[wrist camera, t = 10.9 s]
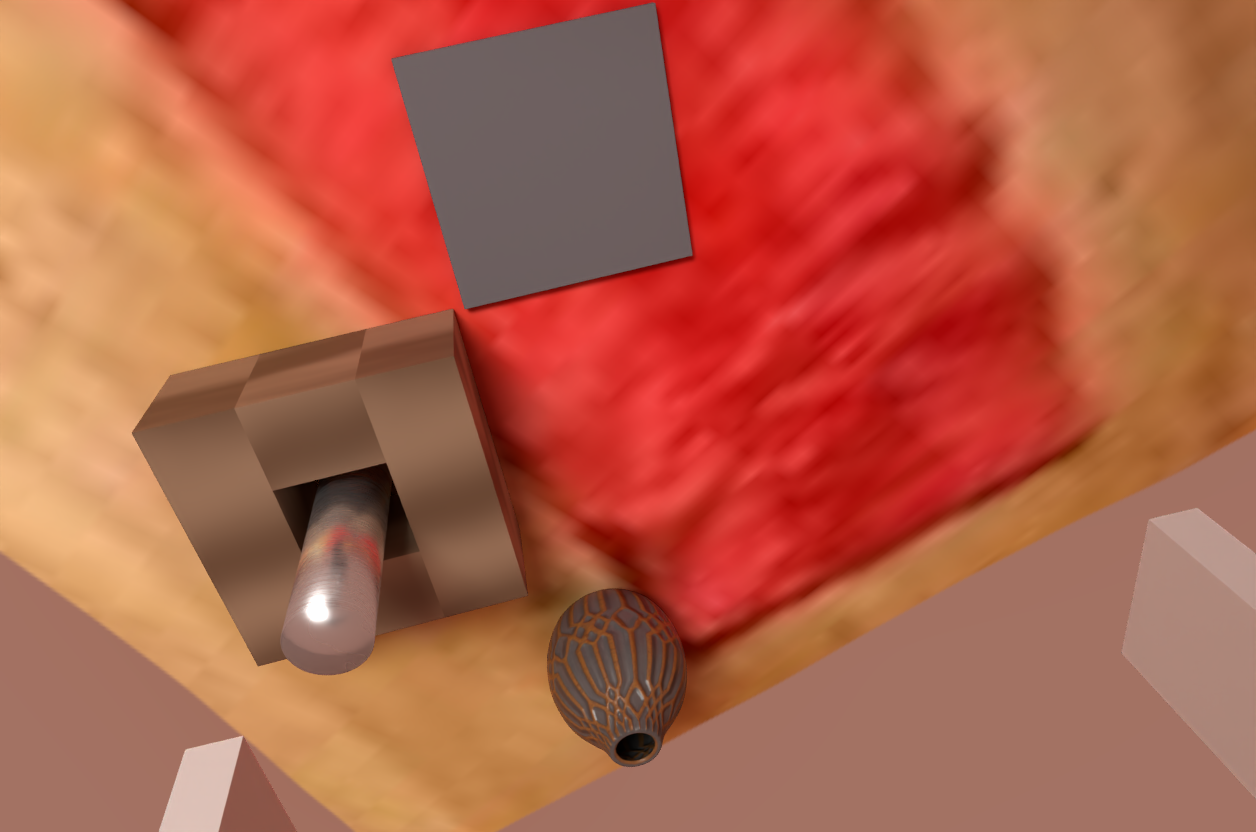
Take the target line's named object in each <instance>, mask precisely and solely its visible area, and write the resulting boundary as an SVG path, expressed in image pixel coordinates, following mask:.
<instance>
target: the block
mask: <svg viewBox="0 0 1256 832" xmlns="http://www.w3.org/2000/svg"><path fill="white" fill-rule="evenodd" d="M132 434H133V436H134V438H135V440H136V442H137V444H138V446H139V447H140V449H141V451H142V453H143V455H144V457H145V458H146V460H147V462H148V464H149V466H150V468H151V470H152V471H153V473H154V475H155V477H156V479H157V481H158V482H159V484H160V486H161V488H162V490H163V492H164V493H165V495H166V497H167V499H168V501H169V503H170V505H171V506H172V508H173V510H174V512H175V514H176V516H177V517H178V519H179V521H180V523H181V525H182V527H183V529H184V530H185V532H186V534H187V536H188V538H189V540H190V541H191V543H192V545H193V547H194V549H195V551H196V553H197V554H198V556H199V558H200V560H201V562H202V564H203V565H204V567H205V569H206V571H207V573H208V575H209V577H210V578H211V580H212V582H213V584H214V586H215V588H216V589H217V591H218V593H219V595H220V597H221V599H222V601H223V602H224V604H225V606H226V608H227V610H228V612H229V613H230V615H231V617H232V619H233V621H234V623H235V625H236V626H237V628H238V630H239V632H240V634H241V636H242V637H243V639H244V641H245V643H246V645H247V647H248V649H249V650H250V652H251V654H252V656H253V658H254V660H255V661H256V663H257V665H258V666H261V665H265V664H269V663H273V662H277V661H281V660H284V659H287V658H286V657H285V655H284V653H283V651H282V649H281V644H280V639H281V633H282V629H283V625H284V621H285V617H286V613H287V609H288V605H289V601H290V597H291V593H292V589H293V585H294V581H295V577H296V572H297V568H298V564H299V560H300V556H301V552H302V548H303V544H304V540H305V536H306V532H307V528H308V524H309V520H310V516H311V512H312V508H313V504H314V500H315V496H316V492H317V488H318V487H317V485H316V483H315V480H318V479H322V478H326V477H330V476H334V475H338V474H342V473H346V472H351V471H355V470H359V469H363V468H367V467H371V466H375V465H379V464H383V463H387V466H388V468H389V471H390V474H391V476H392V479H393V482H394V484H395V487H396V489H397V492H398V494H396V495H392V496H390V504H389V513H388V522H387V531H386V540H385V550H384V559H383V568H382V577H381V586H380V596H379V605H378V614H377V623H376V632H375V636H376V635H380V634H384V633H387V632H391V631H395V630H399V629H403V628H407V627H410V626H414V625H418V624H422V623H426V622H429V621H433V620H437V619H441V618H445V617H449V616H452V615H456V614H460V613H464V612H468V611H471V610H475V609H479V608H483V607H487V606H491V605H494V604H498V603H502V602H506V601H510V600H513V599H517V598H521V597H525V596H528V592H527V584H526V576H525V567H524V559H523V551H522V543H521V535H520V529H519V526H518V522H517V519H516V516H515V512H514V509H513V506H512V502H511V499H510V496H509V492H508V489H507V486H506V482H505V479H504V476H503V473H502V469H501V466H500V463H499V459H498V456H497V453H496V449H495V446H494V443H493V439H492V436H491V433H490V429H489V426H488V423H487V419H486V416H485V413H484V409H483V406H482V403H481V399H480V396H479V393H478V389H477V386H476V383H475V380H474V376H473V373H472V370H471V366H470V363H469V360H468V356H467V353H466V350H465V346H464V343H463V340H462V336H461V333H460V330H459V326H458V323H457V320H456V316H455V313H454V310H453V309H450V310H446V311H441V312H437V313H433V314H429V315H424V316H420V317H416V318H412V319H407V320H403V321H399V322H395V323H391V324H386V325H382V326H378V327H374V328H369V329H365V330H361V331H357V332H352V333H348V334H344V335H340V336H336V337H331V338H327V339H323V340H319V341H314V342H310V343H306V344H302V345H297V346H293V347H289V348H285V349H280V350H276V351H272V352H268V353H264V354H259V355H255V356H251V357H247V358H242V359H238V360H234V361H230V362H225V363H221V364H217V365H213V366H208V367H204V368H200V369H196V370H192V371H187V372H183V373H179V374H175V375H170V376H169V378H168V379H167V381H166V382H165V384H164V385H163V387H162V388H161V390H160V391H159V393H158V394H157V396H156V397H155V399H154V400H153V402H152V403H151V405H150V406H149V408H148V409H147V411H146V412H145V414H144V415H143V417H142V418H141V420H140V421H139V423H138V424H137V426H136V427H135V429H134V430H133V432H132Z"/></svg>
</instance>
